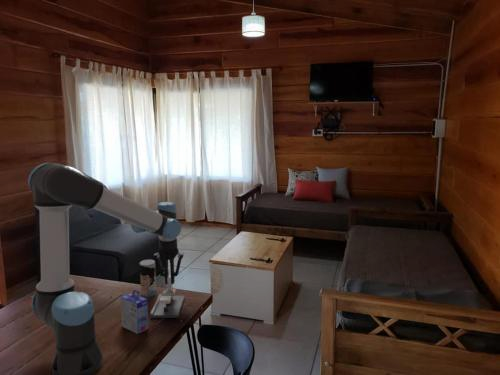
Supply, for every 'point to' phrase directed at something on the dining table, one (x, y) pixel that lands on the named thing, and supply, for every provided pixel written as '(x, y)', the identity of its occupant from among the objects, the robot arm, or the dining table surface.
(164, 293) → the key grey
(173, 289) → the key terracotta
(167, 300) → the key cream
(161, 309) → the keypad board
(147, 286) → the printed cylindrical canister
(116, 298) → the dining table surface
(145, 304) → the ink cartridge box
